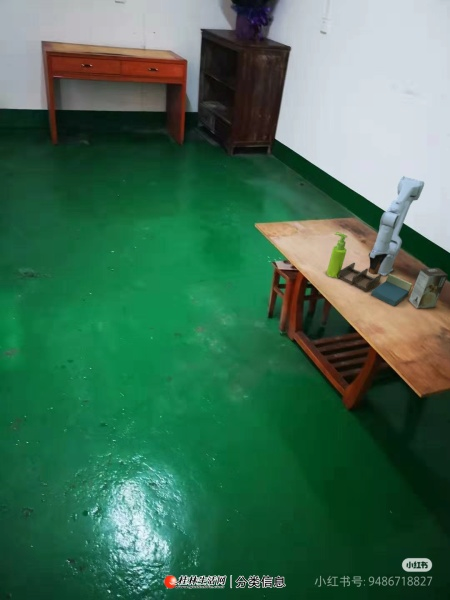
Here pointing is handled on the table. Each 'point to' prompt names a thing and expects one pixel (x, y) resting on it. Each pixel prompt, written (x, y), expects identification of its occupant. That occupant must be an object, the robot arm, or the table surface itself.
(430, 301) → the coffee box
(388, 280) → the sill
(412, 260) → the table surface
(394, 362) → the table surface
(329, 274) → the soap dispenser
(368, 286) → the shelf rack
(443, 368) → the table surface
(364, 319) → the table surface
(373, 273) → the bottle
